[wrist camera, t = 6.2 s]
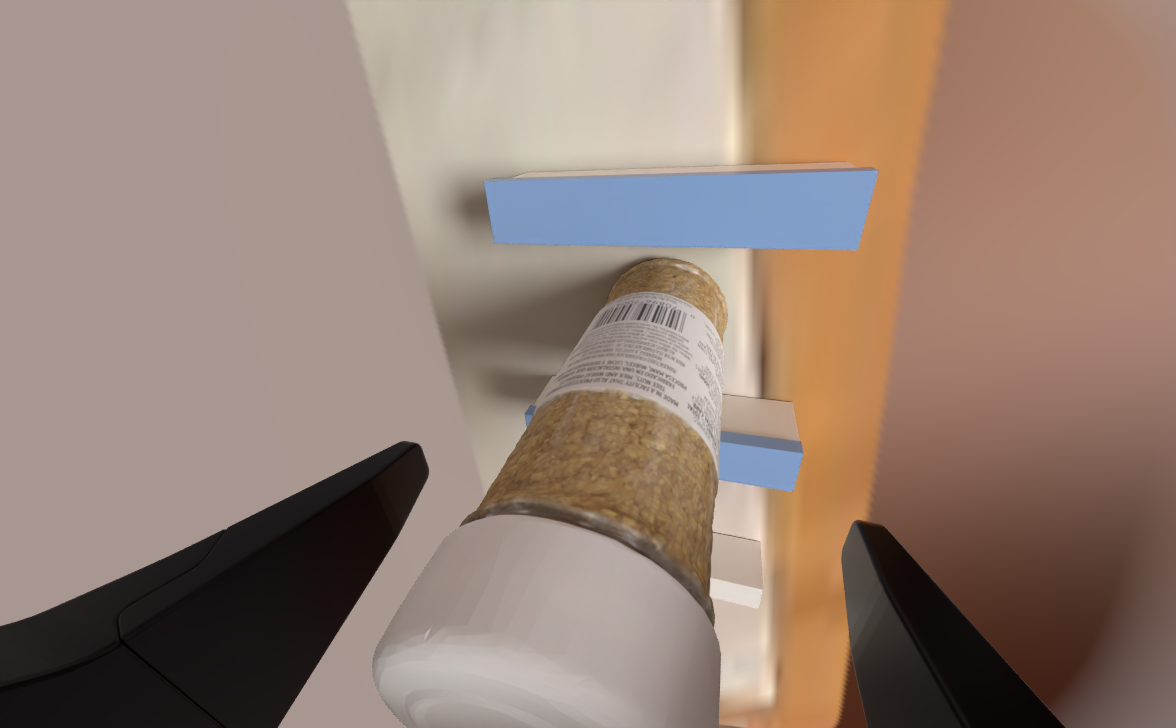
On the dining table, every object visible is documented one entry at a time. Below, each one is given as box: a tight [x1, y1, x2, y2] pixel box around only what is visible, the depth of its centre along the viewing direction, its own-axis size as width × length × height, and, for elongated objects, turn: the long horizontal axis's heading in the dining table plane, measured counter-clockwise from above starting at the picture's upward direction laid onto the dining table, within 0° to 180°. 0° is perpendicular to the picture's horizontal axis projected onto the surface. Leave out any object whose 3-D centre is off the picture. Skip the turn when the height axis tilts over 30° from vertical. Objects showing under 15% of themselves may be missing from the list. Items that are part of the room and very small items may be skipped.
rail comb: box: [484, 162, 878, 609], centre depth 17 cm, size 19×10×3 cm, turn 4°
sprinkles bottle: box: [372, 258, 728, 728], centre depth 11 cm, size 5×5×14 cm
